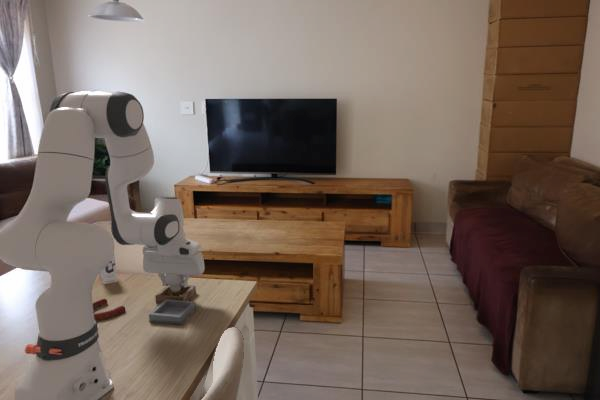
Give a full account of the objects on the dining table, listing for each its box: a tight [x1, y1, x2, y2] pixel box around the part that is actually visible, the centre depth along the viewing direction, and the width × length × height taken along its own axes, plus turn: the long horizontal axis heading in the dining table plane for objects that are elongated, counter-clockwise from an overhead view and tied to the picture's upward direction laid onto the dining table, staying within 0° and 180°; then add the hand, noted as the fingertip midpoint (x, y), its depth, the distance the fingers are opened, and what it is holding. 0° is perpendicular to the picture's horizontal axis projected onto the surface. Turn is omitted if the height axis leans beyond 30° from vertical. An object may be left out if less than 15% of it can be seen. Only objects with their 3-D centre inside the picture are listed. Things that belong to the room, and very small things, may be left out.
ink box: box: [98, 253, 118, 285], centre depth 164 cm, size 8×5×12 cm, turn 32°
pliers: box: [93, 298, 126, 322], centre depth 136 cm, size 12×20×3 cm, turn 146°
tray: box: [148, 299, 197, 326], centre depth 137 cm, size 10×10×2 cm
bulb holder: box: [154, 284, 197, 304], centre depth 149 cm, size 9×9×2 cm
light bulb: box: [165, 273, 185, 296], centre depth 149 cm, size 6×6×10 cm
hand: (175, 286), depth 149 cm, fingers closed on light bulb, 5 cm apart
